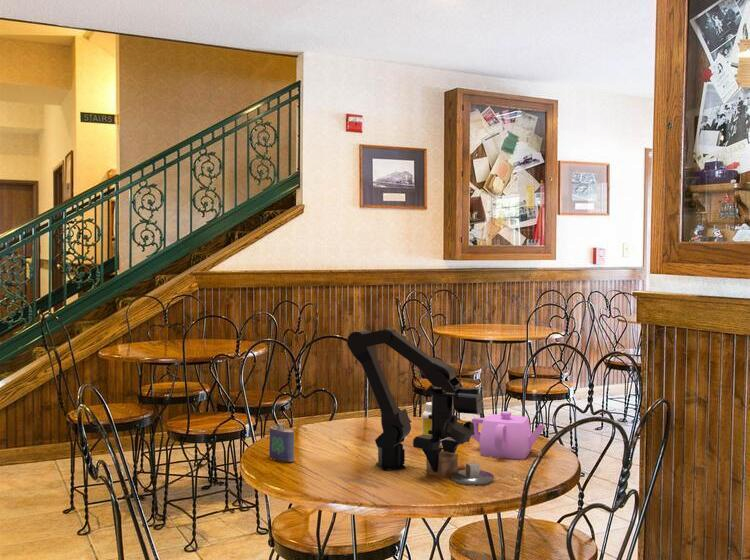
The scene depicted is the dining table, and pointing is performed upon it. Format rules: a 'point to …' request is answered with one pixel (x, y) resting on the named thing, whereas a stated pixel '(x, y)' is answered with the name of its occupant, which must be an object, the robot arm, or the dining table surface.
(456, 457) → the drawer-style box
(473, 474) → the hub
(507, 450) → the teakettle
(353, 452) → the dining table surface
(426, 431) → the supplement bottle
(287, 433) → the flask
